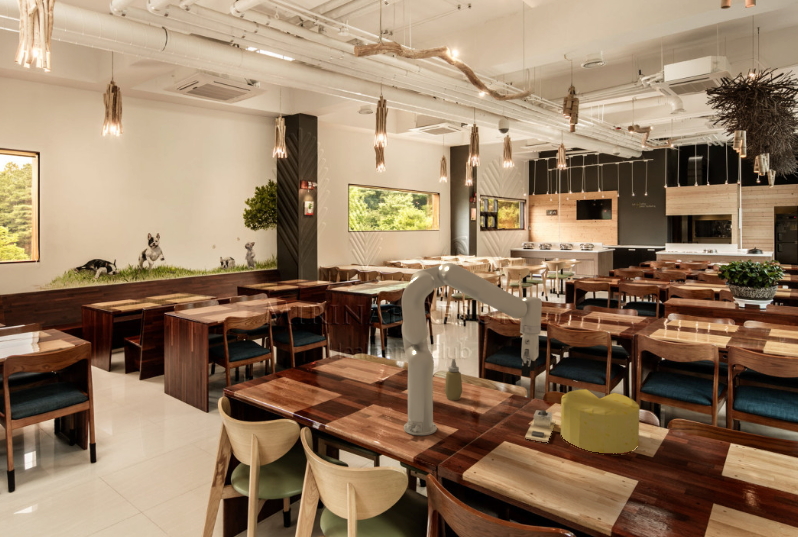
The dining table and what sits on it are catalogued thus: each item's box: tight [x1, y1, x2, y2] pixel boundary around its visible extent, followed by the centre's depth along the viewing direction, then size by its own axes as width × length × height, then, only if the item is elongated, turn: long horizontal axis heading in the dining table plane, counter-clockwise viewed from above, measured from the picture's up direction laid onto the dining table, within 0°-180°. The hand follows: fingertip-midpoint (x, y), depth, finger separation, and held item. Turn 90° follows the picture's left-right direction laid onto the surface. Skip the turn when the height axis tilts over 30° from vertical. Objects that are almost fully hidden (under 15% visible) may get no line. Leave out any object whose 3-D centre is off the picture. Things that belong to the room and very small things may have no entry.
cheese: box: [560, 388, 640, 454], centre depth 176 cm, size 26×26×15 cm
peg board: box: [524, 409, 556, 444], centre depth 183 cm, size 20×8×6 cm, turn 155°
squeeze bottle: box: [444, 358, 463, 401], centre depth 220 cm, size 8×8×18 cm
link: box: [533, 409, 553, 428], centre depth 187 cm, size 6×6×4 cm
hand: (528, 373), depth 188 cm, fingers open, 9 cm apart
